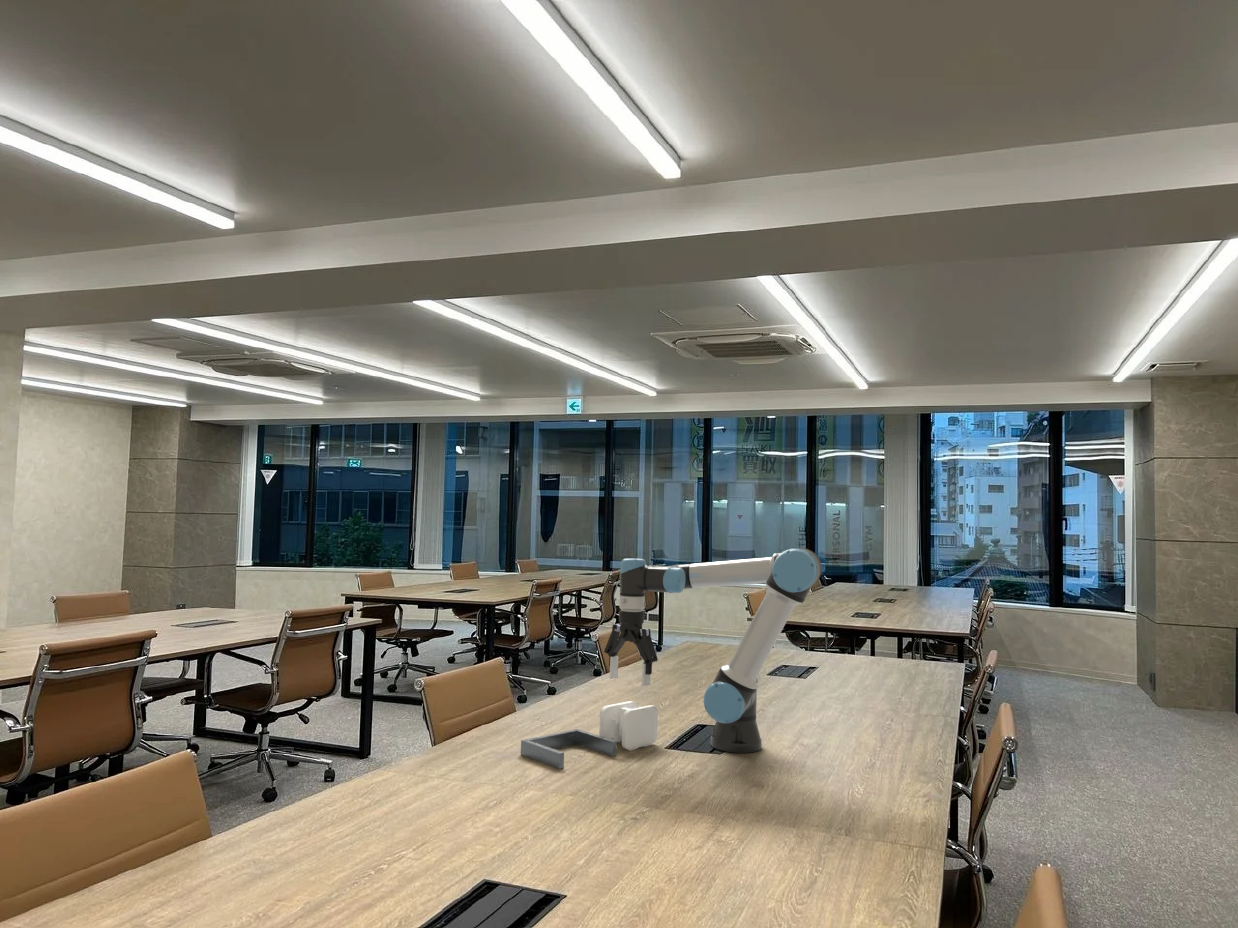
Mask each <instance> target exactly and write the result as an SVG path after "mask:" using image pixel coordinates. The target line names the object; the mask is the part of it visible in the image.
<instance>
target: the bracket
mask: <svg viewBox="0 0 1238 928" xmlns="http://www.w3.org/2000/svg"><path fill="white" fill-rule="evenodd" d="M617 743H618V742H617V741H615V740H612V739H608V738H605V737H602V736H599V734H595V733H591V732H589V731H585V730H583V729H579V728H575V729H571V730H570V729H569V730H565V731H561V732H554V733H551V734H544V735H540V736H535V737H530V738H526V739H521V740H520V755H521V756H524V757H526V758H529V759H530V760H534V761H537V762H540V763H542V764H545V765H548V766H551V767H552V768H556V769H558V770H560V769H561V770H562V769H564V768H565V766H564V765H565V752H564V751H561V750H558V749H562V748H567V747H570V746H575V745H577V746H580V747H583V748H586V749H590V750H592V751H595V752H598V753H601V754H603V755H607V756H610V757H615V756H617Z"/></svg>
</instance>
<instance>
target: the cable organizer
mask: <svg viewBox="0 0 1238 928" xmlns="http://www.w3.org/2000/svg"><path fill="white" fill-rule="evenodd" d="M638 706H639V705H638V704H637V702H635V701H631V700H629V701H624V702H619V703H612V704H608V705H605V706H603V707H601V710H600V712H599V713H600V714H599V732H598V733H599V734H598V735H599V736H602V737H605V738H608V739H612V740H615V741H617V743H619V742H621V746H622V748H623V749H625V750H628V751H630V752H631V751H634V750H637V749H638V748H641V747H643V748H645V747H650V746H652V744H654V743H656V741H657V739H658V723H659V722H658V721H659V719H658V718H659V710H658V707H657V706H656V705H651V704H649V705H645V706H639V707H638Z"/></svg>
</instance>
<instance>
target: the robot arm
mask: <svg viewBox="0 0 1238 928" xmlns="http://www.w3.org/2000/svg"><path fill="white" fill-rule="evenodd" d="M646 562H647V561H646V560H645V558H644V559H643V558H635V557H634V558H626V557H625V558H623V559H622V560H621V563H620V572H619V576H620V577H619V578H620V579H619V609H620V610H619V612H618V622H619V623H615V624H614V623H613V624H612V627H611V628H612V629H611V632H610V635H609V637H608V641H607V643H606V645H605V648H604V654H607V656H608V661H609V662H608V663H609V664H608V667H609V679H610V680H613V679H618V678H619V655H618V653H619V652H620V650H621V649H622V648H623V646H624V645H625V643H626V642H630V643H633V644H634V645H635V646H636V649H637V650H638V652H639V654H640V655H641V658H642V659H643V663H642V671H641V686H642V687H646V686H650V685H651V675H652V671H653V663H655V662H658V660H659V659H658V655H657V652H656V649H655V645H654V643H653V639H652V636H651V635H652V633H651V629H650V628H643V624H644V622H645V612H644V610H645V596H646V594H645V593H646V592H656V593H657V592H658V593H669V594H676V593H677V594H678V593H679V594H681V593H682V592H683V591H684V590H685V589H686V590H688V589H697V588H698V589H699V588H712V587H727V586H739V585H740V586H742V585H755V584H759V585H760V584H765V587H766V590H767V592H766V593H765V595H764V597H763V599H762V601H761V602H760V605H759V607H758V609H757V611H756V612H755V614H754V616H753V618H752V619H751V622H750V623H749V625H748V627H747V629H746V631H745V633H744V635H743V636H742V639H741V640H740V642H739V644H738V646H737V648H736V649H735V652H734V653H733V655H732V657H731V660H730V661H729V663H727V664H726V663H725V664H724V665H721V666H720V668H719V669H718V672H717V673H716V676H715V678H714V680H713V682H712V683H711V684H710V685H709V686H708V687H707V688H706V690H705V692H704V696H703V706H704V709H705V711H706V713H707V714H708V716H709V717H711V719H712V720H714V721H715V724H714V727H713V731H712V734H711V736H710V745H711V747H712V748H714V749H716V750H719V751H722V752H728V753H736V754H743V753H744V754H749V753H755V752H759V751H760V750H761V749H762V744H763V743H762V741H763V740H762V738H761V735H760V730H759V726H758V724H757V704H758V703H757V702H758V701H757V700H758V699H757V697H758V687H759V686H758V682H759V681H758V676H759V674H760V672H761V671H762V668H763V666H764V665H765V663H766V660H767V659H768V657H769V655H770V653H771V651H772V649H773V648H774V646H775V644H776V642H777V640H778V638H779V637H780V634H781V633H782V631H783V630H784V627H785V626H786V623H787V622H788V620H789V618H790V616H791V614H792V612H793V611H794V608H795V607H796V606H800V605H803V604H804V602H805V600H806V597H807V596H808V594H809V593H810V591H811V589H812V586H814V585H815V584H816V582H818V580H819V579H820V578H821V574H822V571H823V570H822V563H821V560H820V558H819V557H818V555H817V554H816V553H815V552H813V550H810V549H808V548H804V547H801V548H800V547H796V548H793V547H792V548H789V549H786V550H784V551H782V552H777V553H773V554H772V556H769V557H768V556H767V557H757V558H755V557H754V558H746V559H732V560H721V561H711V562H709V561H706V562H698V563H685V564H682V563H681V564H672V565H668V566H653V565H652V566H650V565H647V563H646Z"/></svg>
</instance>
